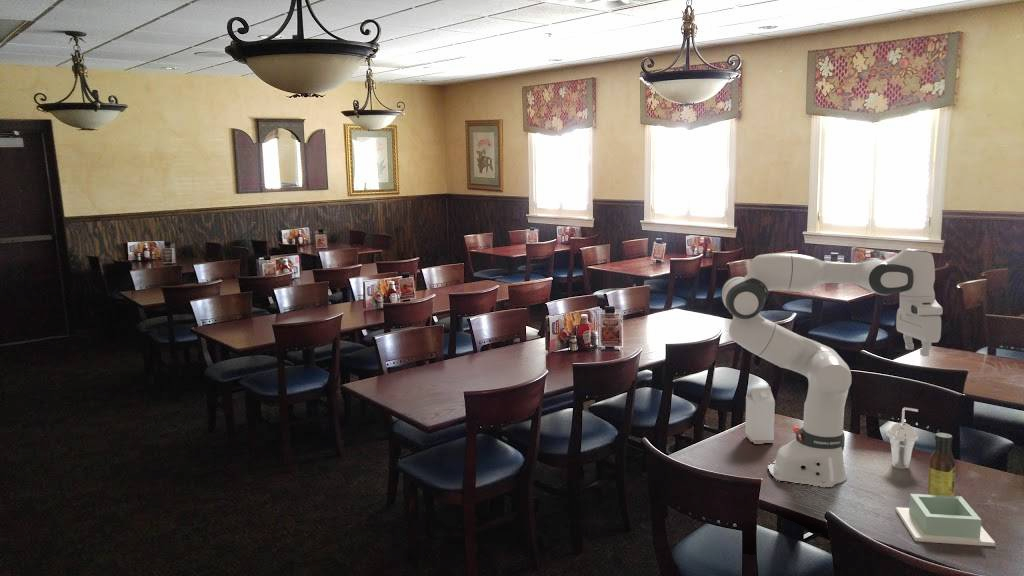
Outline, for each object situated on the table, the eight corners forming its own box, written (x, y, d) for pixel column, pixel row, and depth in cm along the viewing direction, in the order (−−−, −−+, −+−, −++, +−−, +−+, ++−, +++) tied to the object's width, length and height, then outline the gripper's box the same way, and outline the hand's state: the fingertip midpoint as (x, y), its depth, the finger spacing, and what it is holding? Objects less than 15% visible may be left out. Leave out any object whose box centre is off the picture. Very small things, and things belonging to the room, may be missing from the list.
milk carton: (745, 437, 251) (746, 385, 248) (764, 435, 252) (766, 383, 248) (753, 445, 244) (754, 391, 241) (773, 443, 245) (775, 390, 241)
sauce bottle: (956, 509, 197) (962, 440, 193) (931, 508, 198) (936, 439, 195) (947, 498, 203) (952, 431, 200) (923, 497, 205) (928, 430, 201)
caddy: (915, 541, 182) (916, 519, 181) (895, 510, 198) (896, 490, 197) (994, 546, 179) (996, 523, 177) (968, 514, 194) (970, 493, 193)
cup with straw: (908, 460, 228) (912, 399, 225) (921, 472, 220) (926, 409, 216) (880, 459, 229) (884, 399, 226) (892, 472, 220) (896, 409, 217)
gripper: (890, 300, 217) (890, 346, 218) (921, 310, 197) (921, 360, 198) (912, 299, 216) (912, 345, 218) (946, 309, 196) (945, 359, 198)
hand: (916, 352), depth 208 cm, fingers open, 8 cm apart
